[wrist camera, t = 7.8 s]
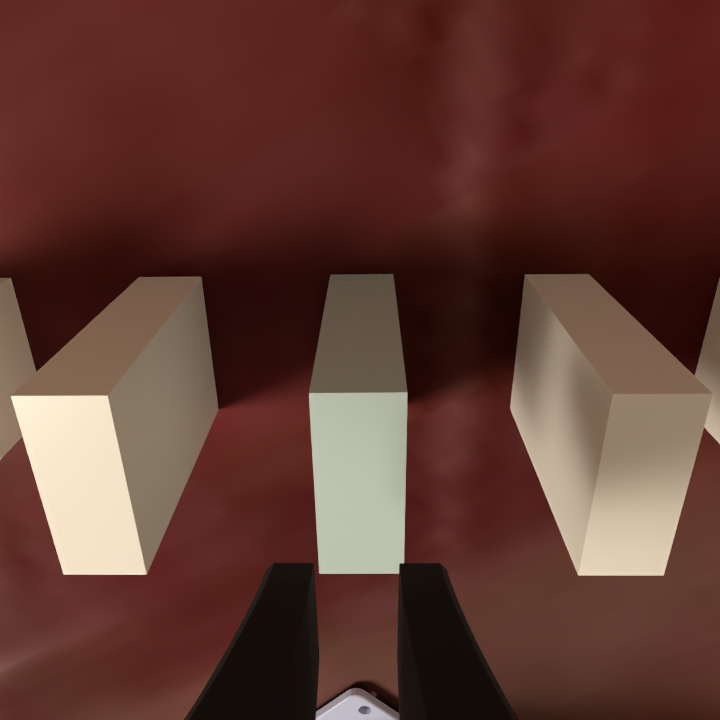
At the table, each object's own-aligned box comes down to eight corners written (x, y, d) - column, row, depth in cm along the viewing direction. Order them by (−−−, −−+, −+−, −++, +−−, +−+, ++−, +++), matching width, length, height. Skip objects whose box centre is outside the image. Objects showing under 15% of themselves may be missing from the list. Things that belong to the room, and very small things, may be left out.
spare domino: (393, 274, 17) (407, 392, 11) (392, 407, 19) (403, 573, 13) (330, 274, 17) (309, 392, 11) (335, 407, 19) (319, 573, 13)
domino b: (201, 276, 18) (107, 395, 11) (218, 409, 19) (146, 574, 13) (139, 277, 18) (10, 395, 11) (162, 409, 20) (63, 574, 13)
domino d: (588, 273, 17) (713, 393, 11) (567, 408, 19) (663, 575, 13) (524, 274, 17) (613, 393, 11) (510, 408, 19) (578, 574, 13)
